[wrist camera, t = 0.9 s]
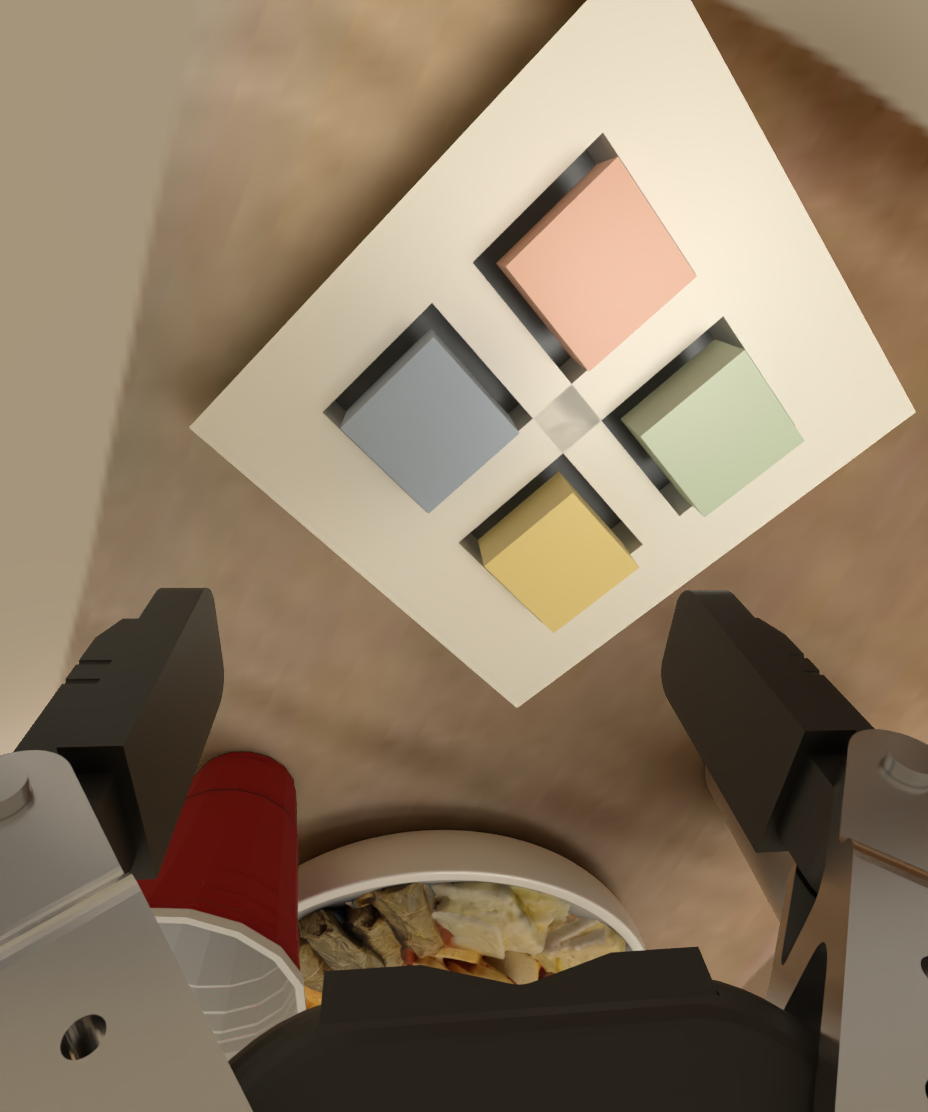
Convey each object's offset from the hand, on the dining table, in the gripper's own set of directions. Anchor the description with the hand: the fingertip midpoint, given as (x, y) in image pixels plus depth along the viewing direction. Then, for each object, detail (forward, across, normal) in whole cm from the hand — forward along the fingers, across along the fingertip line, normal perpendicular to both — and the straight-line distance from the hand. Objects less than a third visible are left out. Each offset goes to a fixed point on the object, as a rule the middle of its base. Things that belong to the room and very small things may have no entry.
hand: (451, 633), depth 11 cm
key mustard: (+15, -6, +5) cm, 17 cm away
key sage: (+15, -11, 0) cm, 18 cm away
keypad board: (+19, -6, 0) cm, 19 cm away
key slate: (+15, 0, 0) cm, 15 cm away
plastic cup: (+19, +10, +24) cm, 32 cm away
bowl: (+19, -2, +40) cm, 45 cm away
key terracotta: (+15, -6, -5) cm, 17 cm away
